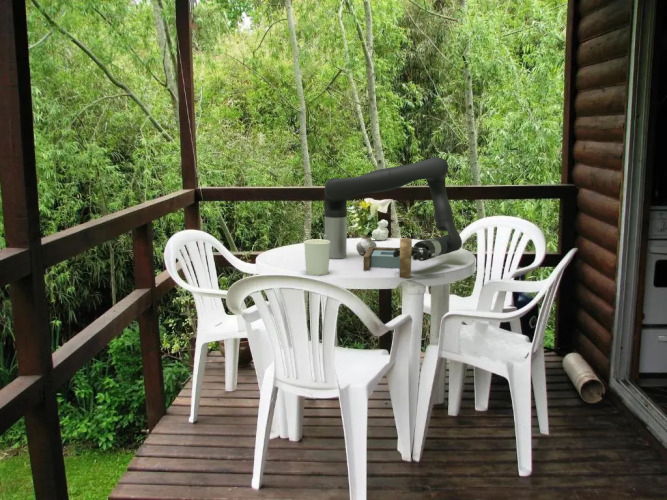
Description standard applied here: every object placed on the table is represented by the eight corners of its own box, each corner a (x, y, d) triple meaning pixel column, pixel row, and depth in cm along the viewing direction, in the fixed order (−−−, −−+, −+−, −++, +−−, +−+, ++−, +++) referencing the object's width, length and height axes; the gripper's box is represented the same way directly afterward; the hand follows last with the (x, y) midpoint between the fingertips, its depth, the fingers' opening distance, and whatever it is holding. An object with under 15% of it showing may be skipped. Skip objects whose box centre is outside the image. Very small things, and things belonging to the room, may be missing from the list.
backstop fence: (363, 270, 252) (363, 256, 251) (369, 259, 271) (369, 246, 270) (406, 272, 249) (406, 257, 248) (408, 261, 269) (409, 248, 268)
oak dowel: (398, 277, 240) (399, 240, 237) (399, 275, 244) (400, 238, 241) (410, 278, 239) (411, 240, 236) (411, 275, 243) (412, 238, 240)
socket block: (371, 268, 257) (371, 255, 256) (374, 262, 269) (374, 250, 268) (401, 269, 255) (402, 256, 254) (403, 263, 267) (403, 251, 266)
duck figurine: (373, 246, 314) (385, 229, 308) (363, 235, 317) (375, 218, 311) (387, 243, 323) (399, 226, 317) (377, 232, 326) (389, 215, 320)
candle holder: (302, 270, 251) (301, 239, 249) (327, 269, 253) (327, 238, 251) (306, 276, 242) (306, 244, 239) (332, 275, 244) (333, 243, 242)
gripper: (411, 237, 255) (388, 243, 243) (444, 242, 246) (421, 248, 234) (411, 256, 256) (387, 263, 244) (443, 261, 248) (420, 268, 235)
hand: (404, 255), depth 239 cm, fingers open, 8 cm apart
